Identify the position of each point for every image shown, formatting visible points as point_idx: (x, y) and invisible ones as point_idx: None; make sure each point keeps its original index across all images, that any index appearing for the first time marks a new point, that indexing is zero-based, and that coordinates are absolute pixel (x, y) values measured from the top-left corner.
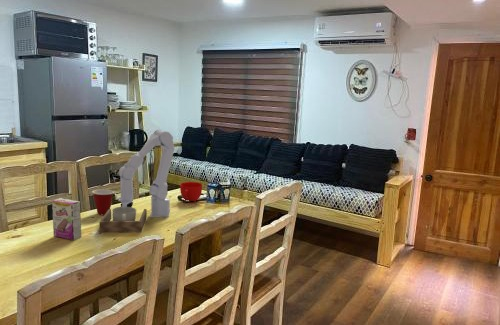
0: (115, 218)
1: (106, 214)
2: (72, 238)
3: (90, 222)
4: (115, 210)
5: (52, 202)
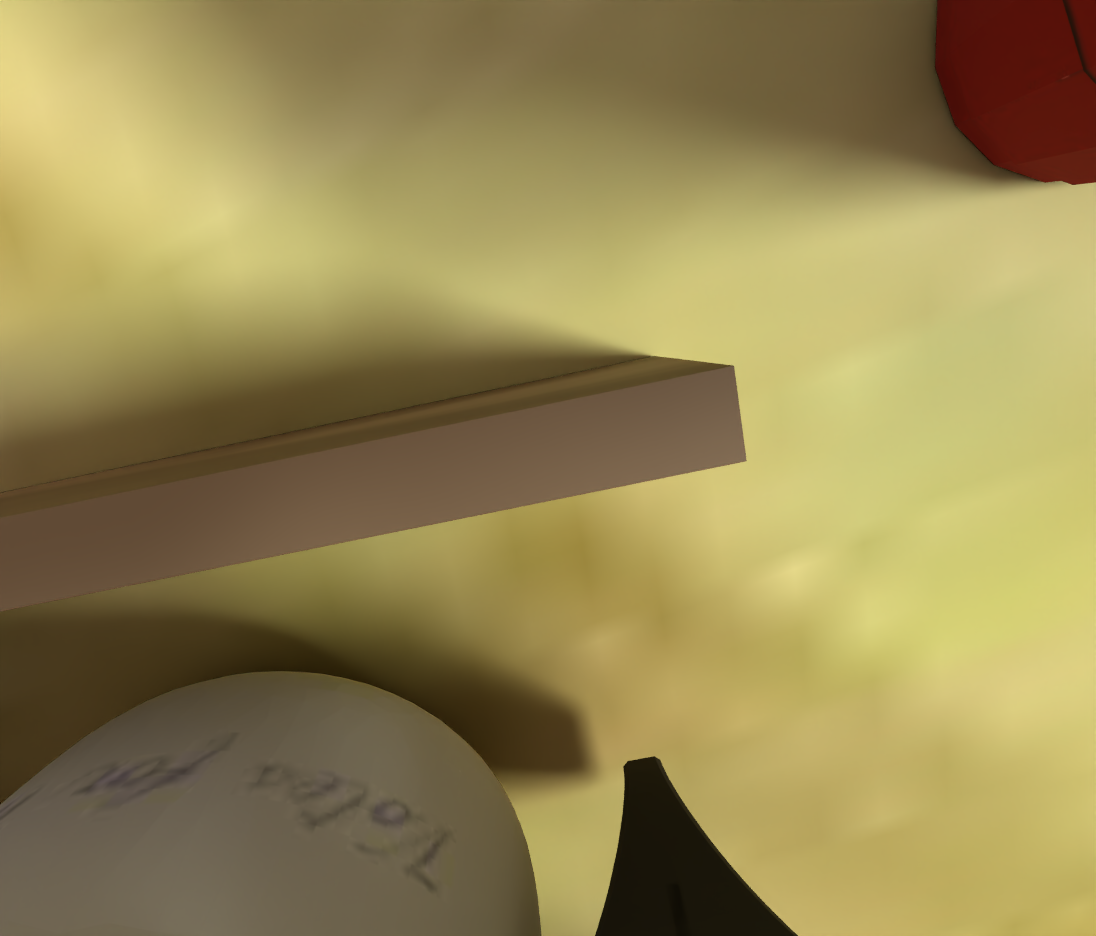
0: None
1: (91, 561)
2: None
3: (307, 5)
4: (189, 920)
5: None
